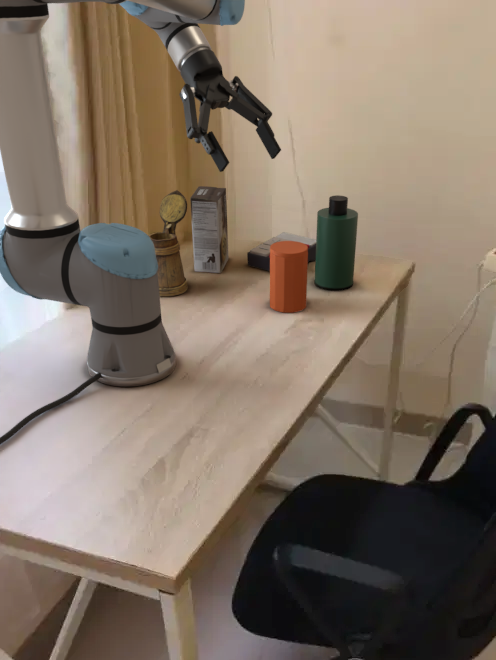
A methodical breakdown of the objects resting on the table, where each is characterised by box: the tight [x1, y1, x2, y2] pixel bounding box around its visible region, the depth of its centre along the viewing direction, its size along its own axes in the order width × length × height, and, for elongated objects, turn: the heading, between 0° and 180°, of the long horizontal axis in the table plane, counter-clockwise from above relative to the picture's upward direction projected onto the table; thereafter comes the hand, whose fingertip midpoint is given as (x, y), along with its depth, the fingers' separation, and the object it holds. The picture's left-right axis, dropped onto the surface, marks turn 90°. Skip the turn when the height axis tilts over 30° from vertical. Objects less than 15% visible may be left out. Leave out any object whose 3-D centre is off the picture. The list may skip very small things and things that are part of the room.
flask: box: [313, 194, 359, 292], centre depth 158 cm, size 9×9×18 cm
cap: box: [269, 241, 309, 314], centre depth 150 cm, size 7×7×12 cm
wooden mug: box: [147, 189, 189, 297], centre depth 156 cm, size 9×14×18 cm, turn 163°
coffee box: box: [189, 185, 230, 274], centre depth 166 cm, size 9×6×16 cm
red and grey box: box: [246, 231, 316, 272], centre depth 173 cm, size 11×4×15 cm
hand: (251, 161), depth 143 cm, fingers open, 13 cm apart
